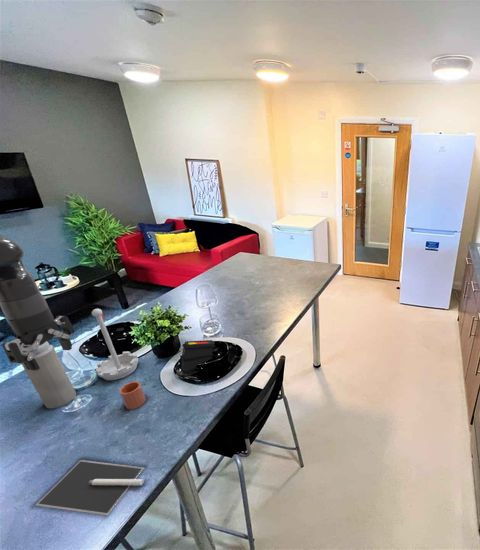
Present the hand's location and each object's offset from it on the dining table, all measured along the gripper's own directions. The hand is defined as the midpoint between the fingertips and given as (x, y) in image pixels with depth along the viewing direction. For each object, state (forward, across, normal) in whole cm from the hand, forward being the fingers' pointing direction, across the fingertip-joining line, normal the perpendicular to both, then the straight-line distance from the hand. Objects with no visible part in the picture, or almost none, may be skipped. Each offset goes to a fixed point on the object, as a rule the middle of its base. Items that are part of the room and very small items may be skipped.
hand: (52, 359), depth 82 cm
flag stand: (+30, -26, -13) cm, 42 cm away
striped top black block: (+30, -32, +18) cm, 48 cm away
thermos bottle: (+30, -10, -21) cm, 38 cm away
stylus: (+28, +15, +16) cm, 36 cm away
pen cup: (+30, -12, +6) cm, 33 cm away
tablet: (+30, +15, +17) cm, 38 cm away
